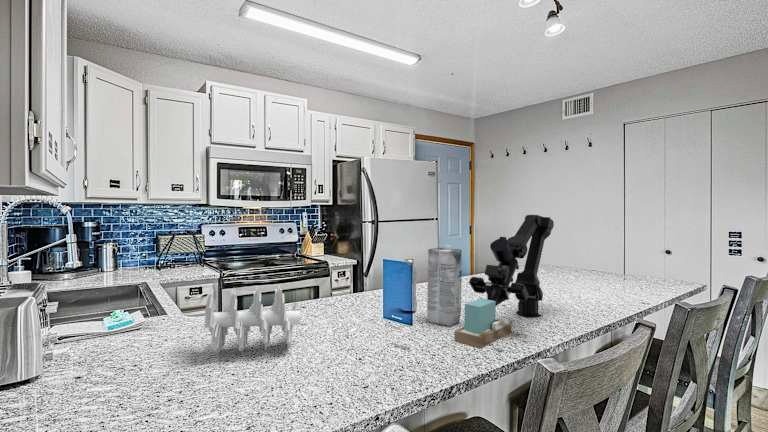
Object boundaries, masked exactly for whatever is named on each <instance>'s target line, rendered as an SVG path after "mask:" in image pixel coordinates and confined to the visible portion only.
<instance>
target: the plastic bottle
mask: <svg viewBox="0 0 768 432" xmlns="http://www.w3.org/2000/svg"><path fill="white" fill-rule="evenodd" d="M405 261H407V262H412V263H413V312H416V310H417V309H418V301H417V281H418V276H419V275H418V270H417V268H416V267H415V259H414V258H404V262H405Z"/></svg>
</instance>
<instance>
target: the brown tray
mask: <svg viewBox="0 0 768 432" xmlns="http://www.w3.org/2000/svg"><path fill="white" fill-rule="evenodd" d="M512 324H513V323H512V322H510V318H509V317H506V316H505V317H502V318H501V319H497V318H495V322H494V323H492V328H491V329H489V330H487V331H484V332H482V333H480V334H478V333H474V332H470V331H466V330H464V326H463V327H460V328H458V329H456V330H454V342H458V343H461V344H465V345H467V346H468V345H469V346H472V347H476V348H480V349H482V348H484V347H486V346H488V345H489V344H491V343H493V342H495V341H498V340H499V339H501V338H503V337H505V336H507V335H509V334H510V333H512V331H513V330H512V328H513V325H512Z"/></svg>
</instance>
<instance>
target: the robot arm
mask: <svg viewBox="0 0 768 432" xmlns="http://www.w3.org/2000/svg"><path fill="white" fill-rule="evenodd" d="M554 226H555V224H554V220H553V219H552V218H551V217H550V216H549V217H547V216H541V215H539V214H526V215H525V217H524V221H523V222H522V224H521V225H520V227H519V228H518V230H517V231H516V233H515V235H513V236H510V237H508V238H507V237H506V236H500V237H499V238H497V239H495V240H494V241H492V242H491V243H490V246H489V247H490V250H491V252H492V254H493V256H494V258H495V260H496V261H497V262H498V265H493V264H492V265H491V264H486V266H485V270H484V275H485V276H488V277H487V280H488V281H487V280H486V282H485V280H484V278H483V277H479V276H472V277H470V279H469V281H468V283H469V285H470V286H471V288H472V290H473V292H474V293H477V294H484V293H486V296H487V297H486V299H487V300H493V301H496V307H497V306H498V305H500V304H501V303H503V302H505V301H509V300H510V297H509V296H510V295H511V294H514V296H515V298H516V299H517V301H518V302H517V303H518V305H517V311H516V312H515V313H516V314H518V315H520V316H523V317H526V318H534V317H541V315H542V314H540V313H539V302H542V301H543V298H544V293H543V290H542V288H541V286H540V284H541V283H540V280H539V277H538V271H539V266H540V262H541V258H542V253H543V248H544V243H545V240H546V239H548V238H549V237H550V235H551V233H552V231H553V228H554ZM529 241H530V242H529ZM528 242H529V247H528V245H527V244H528ZM526 255H527V256H526ZM525 257H526V260H525V262H524V263H525V264H524V268H523V270H522V271H521V272H518V273H517V275H516V278H515V281H514V278H513V277H514V275H515V273H516V270H520V269H519V268H520V265H519V262H518V259H524V258H525Z"/></svg>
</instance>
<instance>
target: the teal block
mask: <svg viewBox="0 0 768 432" xmlns="http://www.w3.org/2000/svg"><path fill="white" fill-rule="evenodd" d="M496 308H497V306H496V301H493V300H487V298H486V299H485V298H478V299H475V300H472V301H468V302H466V303H464V326H463V327H464V330H466V331H470V332H474V333H478V334H480V333H482V332H484V331H487V330H489V329H491V328H492V323H494V322H495V319H496Z"/></svg>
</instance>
